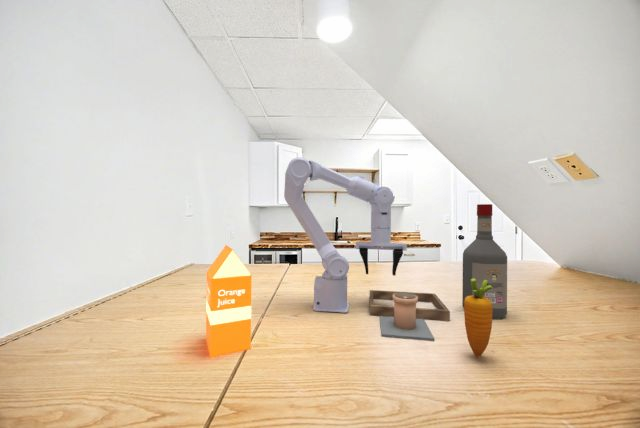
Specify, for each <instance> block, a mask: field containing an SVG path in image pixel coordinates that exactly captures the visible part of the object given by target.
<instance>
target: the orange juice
mask: <svg viewBox="0 0 640 428" xmlns="http://www.w3.org/2000/svg"><path fill="white" fill-rule="evenodd" d="M205 301H206V302H205V303H206V304H205V310H206V311H205V312H206V314H205V318H206V319H205V327H206V328H205V339H206V345H207V350H208V352H209V357H210V358H215V357H220V356H225V355H228V354H233V353H238V352H242V351H247V350H250V349H251V348H252V340H251V339H252V274H251V273H250V271H249V270H248V269H247V267H246V266H245V264H244V263H243V262H242V260H241V259H240V257H239V256H238V255H237V253H236V252H235V251H234V249H233V248H231V247H230V246H229V245H227V244H225V246H224V247H223V248H222V250H221V251H220V252H219V254H218V255H217V257H216V258H215V260H214V261H213V262H212V264H211V265H210V266H209V268H208V269H207V270H206V299H205Z"/></svg>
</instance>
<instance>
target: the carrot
mask: <svg viewBox="0 0 640 428" xmlns="http://www.w3.org/2000/svg"><path fill="white" fill-rule="evenodd" d="M470 282H471V286H472V290H473V293H474V295H472V296H467V297H466V298H465V300H464V308H463V310H464V311H463V312H464V314H463V315H464V325H465V326H464V327H465V332H466V337H467V341H468V343H469V347H470V349H471V350H472V353H473V354H474V356H475V357H476V358H480V357H481V356H482V355H483V354H484V352H485V351H486V349H487V347H488V345H489V341H490V337H491V334H492V333H491V332H492V326H493V319H492V311H493V307H492V303H491V301H490V300H489V299H488V298H485V297H483V295H484V294H485V293H486V292H487V291H488V290H489V289H492V286H490V285H489V286H486V284H487V282H488V281H487V280H484V281H483V283H482V286H481V288H480V289H478V286H477V284H476V279H474V278H473V279H471V281H470ZM485 286H486V287H485Z"/></svg>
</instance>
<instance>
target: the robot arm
mask: <svg viewBox="0 0 640 428" xmlns="http://www.w3.org/2000/svg"><path fill="white" fill-rule="evenodd" d="M284 175H285V176H284V177H285V178H284V192H283V193H284V195H283V197H284V200H285V202H286V203H287V205H288V207H289V208H290V210H291V211H292V213H293V214H294V216H295V218H296V220H297V221H298V223H299V224H300V226H301V227H302V229H303V230H304V232H305V234H306V235H307V237H308V238H309V240H310V241H311V243H312V245H313V247H314V248H315V249H316V251H317V253H318V255H319V256H320V258H321V264H322V265H321V266H322V267H323V269H324V271H323V273H322V275H316V276H315V279H314V282H313V284H314V285H313V311H314V312H329V313H343V314H344V313H345V314H347V313H348V311H349V308H350V302H349V301H348V273H349V270H350V265H349V262H348V259H346V258H345V257H344V256H342V255H341V254H340V253H339V251H338V250H337V249H336V247H335V246H334V244H333V243H332V242H331V240H330V239H329V237H328V236H327V234H326V232H325V231H324V229H323V228H322V226H321V224H320V223H319V221H318V219H317V218H316V216H315V215H314V213H313V212H312V210H311V208H310V207H309V205H308V203H307V202H306V199H304V198H303V191H304V187H305V183H306V182H307V180H308V179H309V181H310V182H313V181H318V180H322V181H324V182H327V183H330V184H333V185H336V186H338V187H340V188H343V189H345V190H346V193H347V194H348V195H349V196H352V197H354V198H356V199H359V200H362V201H364V202H366V203H369V204H370V208H371V209H370V211H371V212H370V241H356V242H355V250H359V251H358V252H359V254H360V257H361V259H362V263H363V266H364V268H365V275H369V260H368V259H369V254H368V253H369V251H368V250H381V251H383V250H385V251H386V250H387V251H392V269H391V272H392V273H391V274H392V276H395V277H396V273H397V269H398V265H399V264H400V260H401V259H402V256H403V255H404V251H407V249H408V245H407V243H406V242H405V243H404V242H402V243H401V242H391V240H392V237H391V236H392V235H391V233H392V205H393V204H394V201H395V195H394V192H393V191H392V190H391V188H389V187H387V186H380V184H379V183H378V182H371V181H369V180H366V179H365V176H363V175H359V176H357V175H356V176H353V177H348V176H346V175H344V174H342V173H340V172H337V171H335V170H333V169H331V168H329V167H327V166H325V165H323V164H321V163H318V162H316V161H314V160H310V159H309V160H308V159H307V158H304V157H300V156H297V157H295V158H294V157H293V159H291V160H290V161H289V162H288V165H287V167H286V170H285V173H284Z"/></svg>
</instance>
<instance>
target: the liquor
mask: <svg viewBox="0 0 640 428" xmlns="http://www.w3.org/2000/svg"><path fill="white" fill-rule="evenodd" d="M476 216H477V224H476V227H477V229H476V230H477V231H476V235H475V238H474V240H473V241H472V242H471V243H470V244H469V245H467V247H466V248H465V249H463V250H464V251H463V252H462V303H461V304H462V309H464V300H465V298H466V297H467V296H472V295H474V293H473V290H472V286H471V282H470V281H471V279H473V278H474V279H476V284H477V286H478V289H480V288H481V286H482V283H483V281H484V280H487V281H488V282H487V284H486V286H489V285H490V286H492V289H489V290H488V291H487V292H486V293H485V294H484V295H483V297H485V298H488V299H489V300H490V301H491V303H492V307H493V311H492V320H495V319H496V320H503V319H504V318H505V317H506V316H507V314H508V255H507V253H506V252H505V250H504V249H503V248H501V247H500V245H499V244H498V243H497V242H495V240H494V235H493V232H492V231H493V223H492V222H493V219H492V218H493V204H491V203H490V204H488V203H486V204H483V203H480V204H479V203H478V204H476ZM486 286H485V287H486Z"/></svg>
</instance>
